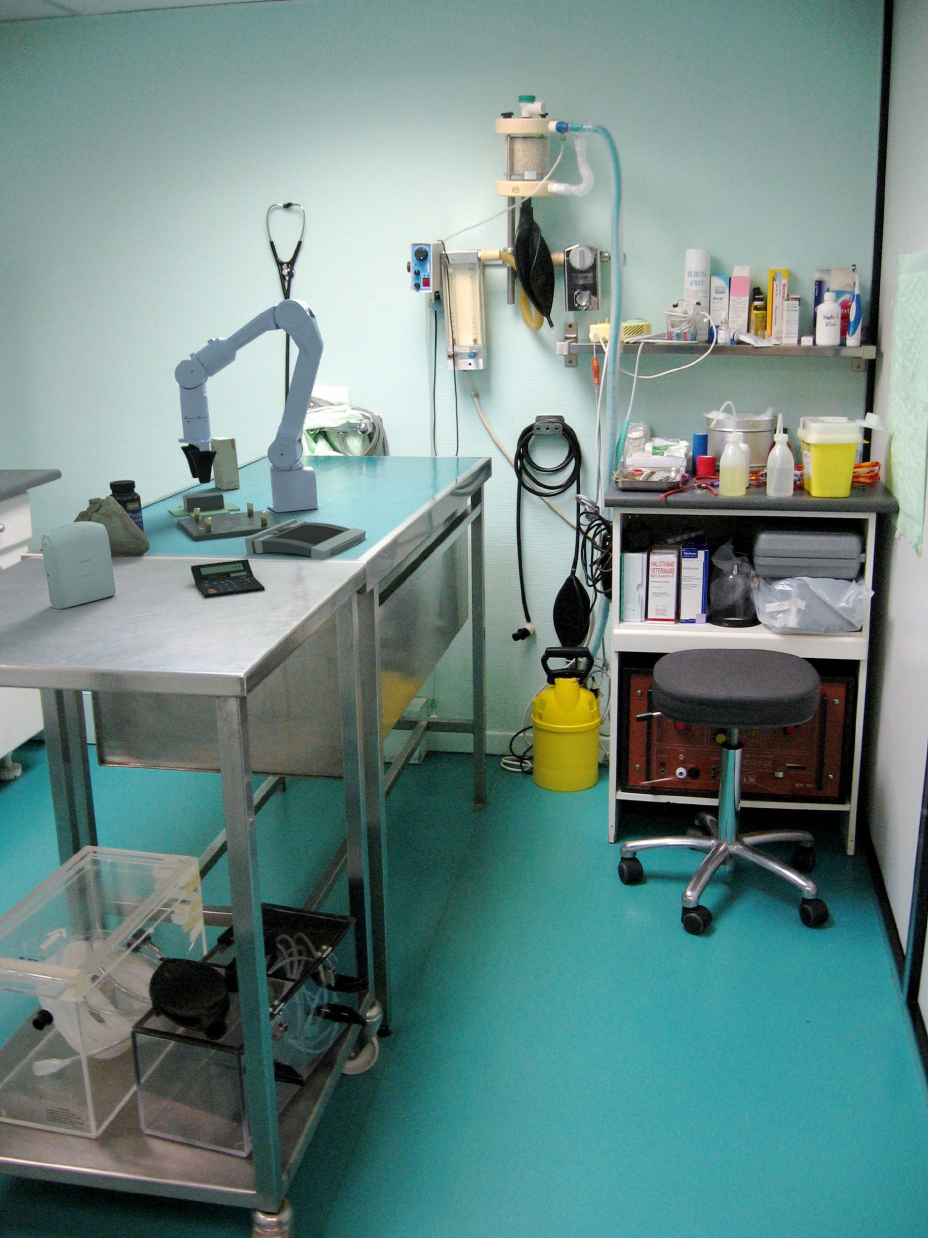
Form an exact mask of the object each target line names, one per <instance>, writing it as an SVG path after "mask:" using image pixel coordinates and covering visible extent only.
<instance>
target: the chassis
mask: <svg viewBox="0 0 928 1238" xmlns="http://www.w3.org/2000/svg"><path fill="white" fill-rule="evenodd" d="M253 505H254V504H253V502H246V510H247V511H245V512H234V513H230V514H224V515H214V516H204V517H200V508H194V518H192V517H188V518H177V525H178V526H179V527H180V528H181V529H182V530H183V531H185V533H186V534H188V535H189V537H190V538H191V539H193V541H194V542H198V541H206V540H216V539H223V538H224V539H225V538H233V537H241V536H242V537H243V536H251V535H254V534H256V533H259V532H261V531H264V530H266V529H269V528H271V527H273V526H276V525H278V524H281V523H282V522H281V521H280V520H278V519H276V518H275V517H274V516H272V515H271V514H269V513H267V511H264V510H262V509H261V510H256V511H254V506H253Z"/></svg>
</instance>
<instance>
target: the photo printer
mask: <svg viewBox="0 0 928 1238" xmlns="http://www.w3.org/2000/svg"><path fill="white" fill-rule="evenodd" d="M41 550H42V556H43V557H42V558H43V563H44V569H45V570H44V571H45V576H46V577H45V578H46V582H47V590H48V595H49V602H50V604H51V607H52V608H53V609H56V610H63V609H67V608H71V607H75V606H78V605H82V604H86V603H89V602H94V601H98V600H101V599H106V598H109V597H112V596H115V595H116V593H117V591H116V583H115V574H114V568H113V567H114V566H113V560H112V556H111V551H110V544H109V537H108V533H107V530H106V528H105V526H104V525H103V524H99V523H95V522H87V521H82V522H73V521H72V522H68V523H64V524H62V525H59V526H56V527H54V528H52V529H51V530H49V531H47V532H45V533H44V534H43V535H42V537H41Z"/></svg>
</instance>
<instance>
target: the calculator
mask: <svg viewBox="0 0 928 1238" xmlns="http://www.w3.org/2000/svg"><path fill="white" fill-rule="evenodd" d="M251 567H252V566H251V565H250V562H249V559H248V558H247V559H245V558H244V559H237V560H228V561H221V562H212V563H204V564H196V565H190V571H191V574H192V577H193V580H194V583H195V584H194V585H195V587H196V588H197V589H198V591H199V592H200V594H201V595H202V596H203V597H204V599H210V598H217V597H218V598H219V597H225V596H226V597H227V596H233V595H243V594H248V593H249V594H250V593H255V592H257V593H259V592H263V591H264V592H265V589H266V588H265V586H264V585H263V584H262V583H261V581H259V580H258V579H257V578H256V577H255V576H254V573H253V570H252V568H251Z"/></svg>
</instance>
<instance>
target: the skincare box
mask: <svg viewBox="0 0 928 1238" xmlns="http://www.w3.org/2000/svg"><path fill="white" fill-rule="evenodd" d="M209 445H210V450H216V451H217V453H216V456H215V458H214V461H213V465H212V471H213V479H214V481H213V482H214V487H215V488H216V487H217V488H216V489H219V488H220V490H223V491H224V490H225V491H226V490H227V489H228V490H234V489H235V488H236V489H240V488H241V486H240V485H241V483H240V473H239V464H238V463H239V461H238V454H237V453H238V452H237V443H236V438H235V437H230V436H219V437H218V436H217V437H212V441H211V442H210V443H209Z"/></svg>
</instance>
